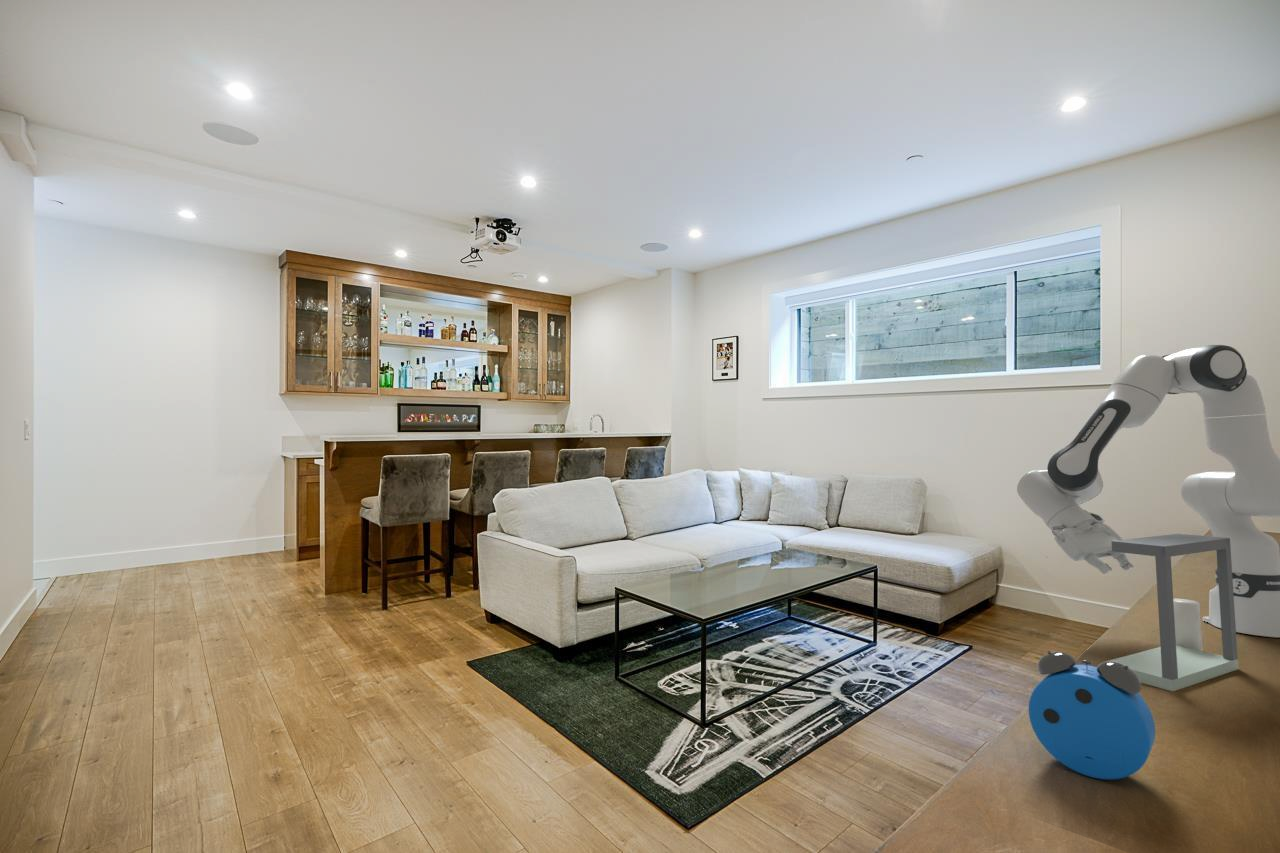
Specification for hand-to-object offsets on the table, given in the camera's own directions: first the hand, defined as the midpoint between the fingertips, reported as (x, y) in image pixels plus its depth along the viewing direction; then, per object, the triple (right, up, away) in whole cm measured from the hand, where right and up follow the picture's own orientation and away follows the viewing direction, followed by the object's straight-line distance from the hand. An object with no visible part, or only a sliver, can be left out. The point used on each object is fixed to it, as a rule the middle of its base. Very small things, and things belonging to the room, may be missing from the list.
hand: (1119, 570), depth 141 cm
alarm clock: (-53, -13, -61) cm, 82 cm away
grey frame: (-8, -14, -23) cm, 28 cm away
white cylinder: (+5, -15, -11) cm, 20 cm away
